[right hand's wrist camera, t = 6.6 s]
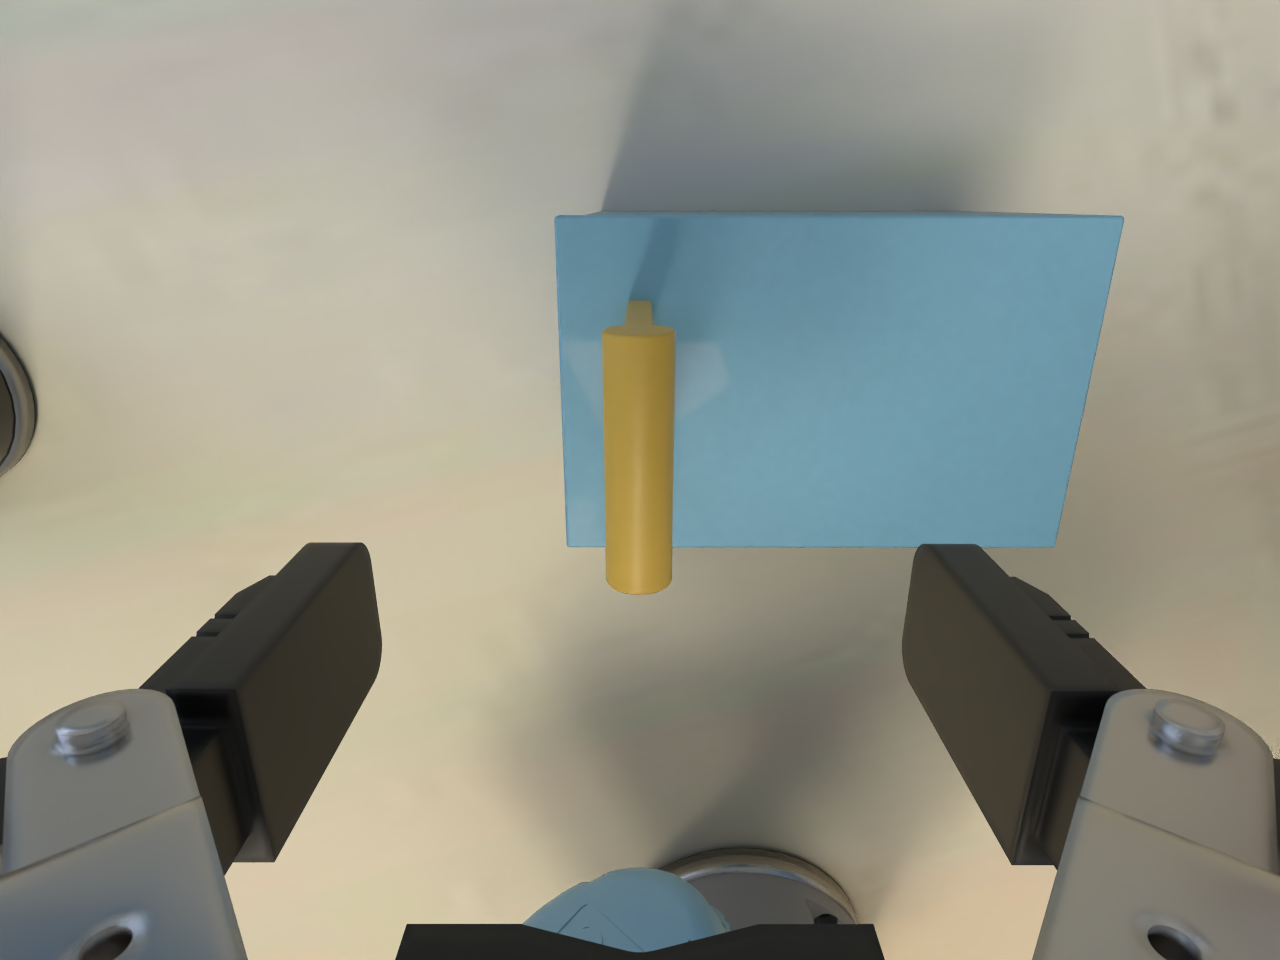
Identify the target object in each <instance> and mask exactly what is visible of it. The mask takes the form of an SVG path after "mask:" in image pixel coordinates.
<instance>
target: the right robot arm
mask: <svg viewBox="0 0 1280 960" xmlns="http://www.w3.org/2000/svg"><path fill="white" fill-rule="evenodd" d="M34 422H35V411H34V402H33V397H32V393H31V389H30V386H29V383H28V380H27V378H26V375H25V373H24V371H23V369H22V367H21V365H20V363H19V362H18V360H17V358H16V357H15V355H14V354H13V352H12V351H11V350H10V348H9V347H8V345H7V344H6V343H5V342H4V341H3V339H2V338H1V337H0V476H1V475H2V474H4V473H6V472H7V471H9V470H10V469H11V468H12V467H14V466H15V465H16V464H17V463H18V461H19V460H20V459H21V458H22V456H23V455H24V454H25V452H26V450H27V448H28V446H29V444H30V441H31V438H32V434H33V430H34ZM1070 617H1071V616H1070V615H1069V614H1068V613H1067V612H1066V611H1065V610H1064V609H1063V608H1062V607H1061V606H1060V605H1059V604H1058V603H1057V602H1056V601H1055V600H1053V599H1052V598H1051V597H1050V596H1049V595H1048V594H1046V593H1044V592H1042V591H1041V590H1039V589H1037V588H1035V587H1033V586H1031V585H1029V584H1028V583H1026V582H1024V581H1022V580H1020V579H1018V578H1016V577H1009V576H1008V575H1007V574H1006V573H1005V572H1004V571H1003V570H1002V569H1001V568H1000V567H999V566H998V565H997V564H996V563H995V562H994V561H993V560H992V559H991V558H990V557H989V556H988V555H987V554H986V553H985V552H984V551H983V550H982V548H981V547H979V546H978V545H976V544H921V545H920V546H919V547H918V549H917V551H916V553H915V556H914V561H913V567H912V574H911V581H910V588H909V595H908V602H907V609H906V616H905V624H904V631H903V639H902V655H903V663H904V668H905V672H906V675H907V678H908V681H909V683H910V684H911V686H912V688H913V690H914V692H915V693H916V695H917V697H918V699H919V701H920V702H921V704H922V706H923V708H924V709H925V711H926V713H927V715H928V717H929V718H930V720H931V722H932V724H933V726H934V727H935V729H936V731H937V733H938V734H939V736H940V738H941V740H942V742H943V743H944V745H945V747H946V749H947V750H948V752H949V754H950V756H951V758H952V759H953V761H954V763H955V765H956V767H957V768H958V770H959V772H960V774H961V775H962V777H963V779H964V781H965V783H966V784H967V786H968V788H969V790H970V791H971V793H972V795H973V797H974V799H975V800H976V802H977V804H978V806H979V808H980V809H981V811H982V813H983V815H984V816H985V818H986V820H987V822H988V824H989V825H990V827H991V829H992V831H993V832H994V834H995V836H996V838H997V840H998V841H999V843H1000V845H1001V847H1002V849H1003V850H1004V852H1005V854H1006V856H1007V857H1008V859H1009V861H1010V863H1011V865H1054V866H1055V868H1056V869H1057V874H1056V877H1055V881H1054V884H1053V888H1052V892H1051V895H1050V899H1049V902H1048V906H1047V909H1046V913H1045V916H1044V920H1043V923H1042V927H1041V930H1040V934H1039V937H1038V941H1037V944H1036V948H1035V951H1034V955H1033V959H1032V960H1280V760H1279V759H1274V758H1273V757H1272V753H1271V751H1270V749H1269V747H1268V745H1267V744H1266V743H1265V742H1264V740H1263V739H1262V738H1261V737H1260V736H1259V735H1258V734H1257V733H1256V732H1255V731H1254V730H1252V729H1251V728H1250V727H1249V726H1247V725H1246V724H1244V723H1243V722H1242V721H1240V720H1239V719H1237V718H1235V717H1234V716H1232V715H1230V714H1229V713H1227V712H1225V711H1223V710H1221V709H1219V708H1217V707H1214V706H1212V705H1210V704H1207V703H1205V702H1203V701H1200V700H1197V699H1194V698H1191V697H1188V696H1184V695H1181V694H1177V693H1172V692H1167V691H1162V690H1154V689H1146V688H1145V687H1144V686H1143V685H1142V684H1141V683H1140V682H1139V681H1138V680H1137V679H1136V678H1135V677H1134V676H1133V675H1132V674H1130V673H1129V672H1128V671H1127V670H1126V669H1125V668H1124V667H1123V666H1122V665H1121V664H1120V663H1119V662H1118V661H1117V660H1116V659H1115V658H1114V657H1113V656H1112V655H1111V654H1110V653H1109V652H1108V651H1107V650H1106V649H1104V648H1103V647H1102V646H1101V645H1100V644H1099V643H1098V642H1097V641H1096V640H1095V639H1094V638H1089V633H1088V632H1087V631H1086V630H1085V629H1084V628H1083V627H1082V626H1081V625H1080V624H1078V623H1077V622H1076V621H1075V620H1071V618H1070ZM381 653H382V638H381V629H380V622H379V615H378V608H377V601H376V593H375V586H374V579H373V572H372V565H371V559H370V555H369V551H368V549H367V547H366V546H365V545H364V544H363V543H308V544H306V545H305V546H304V547H303V548H302V549H301V550H300V551H299V552H298V553H297V554H296V555H295V556H294V557H293V558H292V559H291V560H290V561H289V562H288V563H287V564H286V565H285V566H284V567H283V568H282V570H281V571H280V572H279V573H278V574H277V575H276V576H268V577H266V578H264V579H262V580H260V581H259V582H257V583H255V584H253V585H251V586H249V587H247V588H246V589H244V590H242V591H240V592H238V593H236V594H235V595H234V596H233V597H232V598H231V599H230V600H229V601H228V602H227V603H226V604H225V605H224V606H223V607H222V608H221V609H220V610H219V611H218V612H217V613H216V614H215V618H214V619H210V620H209V621H208V622H207V623H205V624H204V625H203V626H202V627H201V628H200V629H199V630H198V631H197V636H196V637H191V638H190V639H189V640H188V641H187V642H186V643H185V644H184V645H183V646H182V647H181V648H180V649H179V650H178V651H177V652H176V653H175V654H174V655H172V656H171V657H170V658H169V659H168V660H167V661H166V662H165V663H164V664H163V665H162V666H161V667H160V668H159V669H158V670H157V671H156V672H155V673H154V674H153V675H152V676H151V677H150V678H149V679H148V680H147V681H146V682H145V683H144V684H143V685H142V686H141V687H139V688H138V689H126V690H118V691H113V692H108V693H103V694H99V695H96V696H92V697H89V698H86V699H83V700H80V701H77V702H75V703H73V704H70V705H68V706H66V707H63V708H61V709H59V710H57V711H55V712H53V713H51V714H50V715H48V716H46V717H45V718H43V719H41V720H40V721H38V722H37V723H36V724H34V725H33V726H31V727H30V728H29V729H28V730H26V731H25V732H24V733H23V734H22V735H21V736H20V737H19V738H18V739H17V740H16V742H15V743H14V744H13V745H12V747H11V749H10V751H9V753H8V756H7V757H6V758H1V759H0V960H248V959H247V955H246V951H245V948H244V944H243V941H242V937H241V934H240V930H239V927H238V923H237V920H236V916H235V913H234V909H233V906H232V902H231V899H230V895H229V892H228V888H227V884H226V881H225V877H224V876H225V874H226V872H227V871H228V869H229V867H230V866H231V864H232V863H233V862H275V860H276V858H277V856H278V855H279V853H280V851H281V849H282V847H283V846H284V844H285V842H286V840H287V838H288V837H289V835H290V833H291V831H292V829H293V828H294V826H295V824H296V822H297V820H298V819H299V817H300V815H301V813H302V811H303V810H304V808H305V806H306V804H307V802H308V801H309V799H310V797H311V795H312V793H313V791H314V790H315V788H316V786H317V784H318V782H319V781H320V779H321V777H322V775H323V773H324V772H325V770H326V768H327V766H328V764H329V763H330V761H331V759H332V757H333V755H334V754H335V752H336V750H337V748H338V746H339V745H340V743H341V741H342V739H343V737H344V736H345V734H346V732H347V730H348V728H349V727H350V725H351V723H352V721H353V719H354V717H355V716H356V714H357V712H358V710H359V708H360V707H361V705H362V703H363V701H364V699H365V698H366V696H367V694H368V692H369V690H370V689H371V687H372V685H373V683H374V681H375V679H376V677H377V674H378V671H379V667H380V661H381ZM395 960H885V959H884V956H883V953H882V950H881V947H880V944H879V941H878V938H877V935H876V931H875V928H874V925H873V924H757V925H753V926H749V927H745V928H741V929H737V930H733V931H729V932H725V933H721V934H717V935H713V936H709V937H705V938H702V939H698V940H694V941H690V942H686V943H682V944H678V945H674V946H670V947H666V948H662V949H658V950H654V951H648V952H632V951H626V950H622V949H618V948H614V947H610V946H606V945H602V944H598V943H594V942H590V941H586V940H582V939H578V938H575V937H571V936H567V935H563V934H559V933H555V932H551V931H547V930H543V929H539V928H535V927H531V926H527V925H523V924H407V925H406V928H405V931H404V935H403V938H402V941H401V944H400V947H399V950H398V953H397V956H396V959H395Z"/></svg>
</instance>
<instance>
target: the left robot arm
mask: <svg viewBox="0 0 1280 960" xmlns="http://www.w3.org/2000/svg"><path fill="white" fill-rule="evenodd" d="M757 924H858V923H857V919H856V916H855V913H854V910H853V907H852V905H851V903H850V901H849V899H848V898H847V896H846V895H845V893H844V892H843V891H842V889H841V888H840V887H839V886H838V885H837V884H836V883H835V882H834V881H833V880H832V879H831V878H830V877H829V876H827V875H826V874H825V873H823V872H822V871H821V870H819V869H817V868H816V867H814V866H812V865H811V864H808V863H806V862H804V861H802V860H800V859H797V858H795V857H792V856H789V855H785V854H782V853H778V852H773V851H768V850H760V849H748V848H735V849H722V850H714V851H709V852H704V853H700V854H696V855H693V856H690V857H687V858H684V859H681V860H679V861H677V862H674V863H672V864H670V865H668V866H666V867H664V868H663V869H661V870H658V869H652V868H628V869H621V870H616V871H611V872H608V873H607V874H604V875H602V876H601V877H599V878H597V879H595V880H594V881H592V882H589V883H588V882H581V883H579V884H577V885H575V886H574V887H572V888H570V889H568V890H566V891H565V892H563V893H561V894H560V895H559V896H557V897H556V898H554V899H553V900H551V901H550V902H548V903H547V904H545V905H544V906H543V907H542V908H540V909H539V910H538V911H536V912H535V913H534V914H533V915H532V916H531V917H530V918H528V919H527V920H526V921H525V922H524V923H523V925H527V926H531V927H535V928H539V929H543V930H547V931H551V932H555V933H559V934H563V935H567V936H571V937H575V938H578V939H582V940H586V941H590V942H594V943H598V944H602V945H606V946H610V947H614V948H618V949H622V950H626V951H632V952H648V951H654V950H658V949H662V948H666V947H670V946H674V945H678V944H682V943H686V942H690V941H694V940H698V939H702V938H705V937H709V936H713V935H717V934H721V933H725V932H729V931H733V930H737V929H741V928H745V927H749V926H753V925H757Z"/></svg>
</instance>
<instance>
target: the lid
mask: <svg viewBox="0 0 1280 960" xmlns="http://www.w3.org/2000/svg"><path fill="white" fill-rule="evenodd" d="M1123 223H1124V217H1123V216H1110V215H560V216H556V217H555V242H556V269H557V296H558V322H559V349H560V376H561V403H562V429H563V456H564V483H565V509H566V536H567V546H568V547H606V580H607V582H608V584H609V585H610V586H611V587H612V588H613V589H615V590H617V591H619V592H622V593H626V594H634V595H644V594H652V593H656V592H659V591H661V590H663V589H665V588H666V587H667V586H668V585H669V584H670V582H671V580H672V547H919V546H920V545H921V544H976V545H978V546H979V547H1054V546H1055V542H1056V538H1057V533H1058V528H1059V524H1060V519H1061V514H1062V510H1063V505H1064V500H1065V495H1066V491H1067V486H1068V481H1069V477H1070V472H1071V467H1072V463H1073V458H1074V453H1075V448H1076V444H1077V439H1078V434H1079V430H1080V425H1081V420H1082V415H1083V411H1084V406H1085V401H1086V397H1087V392H1088V387H1089V383H1090V378H1091V373H1092V368H1093V364H1094V359H1095V354H1096V350H1097V345H1098V340H1099V336H1100V331H1101V326H1102V321H1103V317H1104V312H1105V307H1106V303H1107V298H1108V293H1109V288H1110V284H1111V279H1112V274H1113V270H1114V265H1115V260H1116V256H1117V251H1118V246H1119V241H1120V237H1121V232H1122V227H1123Z"/></svg>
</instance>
